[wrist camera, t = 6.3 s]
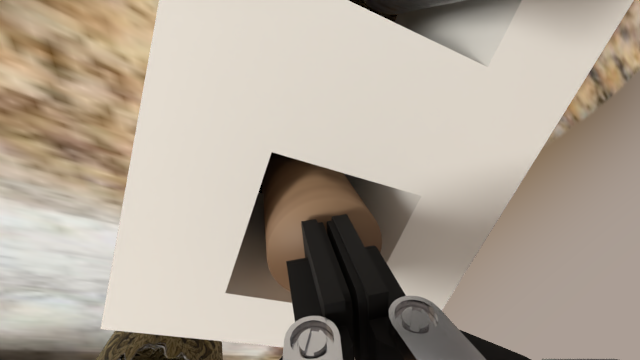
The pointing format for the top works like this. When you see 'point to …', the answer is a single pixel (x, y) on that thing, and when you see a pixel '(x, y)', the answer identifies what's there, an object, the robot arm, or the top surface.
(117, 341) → the cup
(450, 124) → the socket block
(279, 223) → the walnut dowel
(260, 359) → the top surface
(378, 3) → the steel pin
